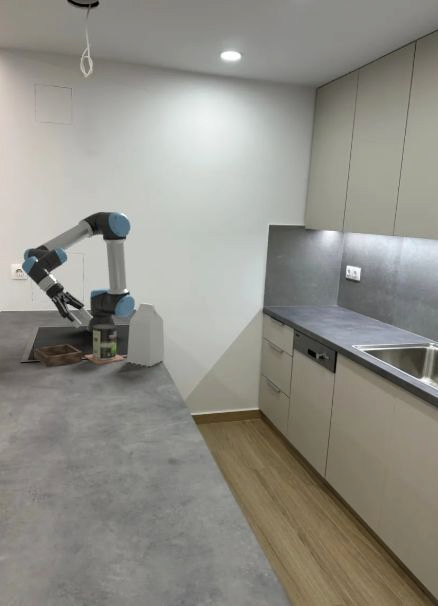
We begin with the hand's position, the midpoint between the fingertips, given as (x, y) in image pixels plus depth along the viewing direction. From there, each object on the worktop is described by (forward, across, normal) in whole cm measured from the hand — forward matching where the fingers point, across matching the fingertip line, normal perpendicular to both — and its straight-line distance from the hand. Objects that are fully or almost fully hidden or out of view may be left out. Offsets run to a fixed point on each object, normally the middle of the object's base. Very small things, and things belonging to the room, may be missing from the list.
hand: (85, 322), depth 204 cm
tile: (+17, 0, -5) cm, 18 cm away
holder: (+4, +6, -18) cm, 20 cm away
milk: (+31, 0, +8) cm, 32 cm away
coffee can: (+17, 0, -5) cm, 18 cm away
